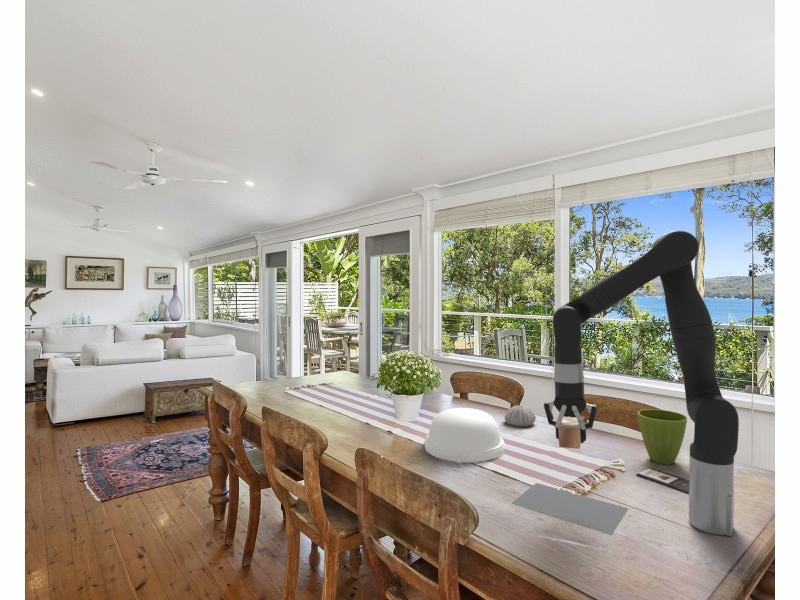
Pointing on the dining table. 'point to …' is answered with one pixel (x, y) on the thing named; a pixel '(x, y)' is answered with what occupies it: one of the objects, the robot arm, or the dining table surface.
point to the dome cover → (464, 436)
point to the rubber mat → (572, 507)
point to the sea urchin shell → (520, 416)
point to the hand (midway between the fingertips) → (571, 441)
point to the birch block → (569, 433)
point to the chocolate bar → (666, 479)
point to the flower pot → (662, 434)
